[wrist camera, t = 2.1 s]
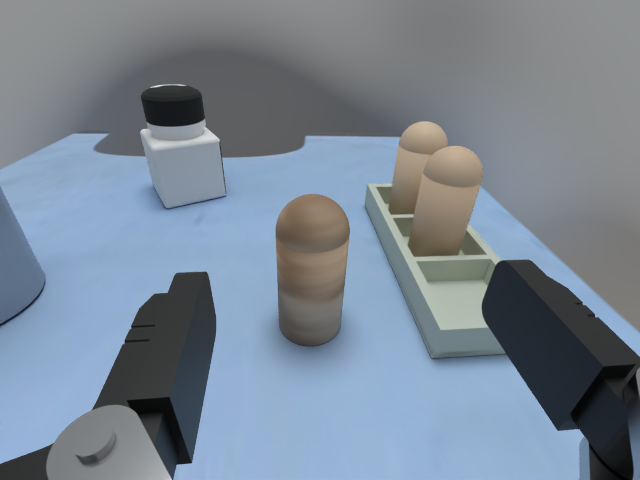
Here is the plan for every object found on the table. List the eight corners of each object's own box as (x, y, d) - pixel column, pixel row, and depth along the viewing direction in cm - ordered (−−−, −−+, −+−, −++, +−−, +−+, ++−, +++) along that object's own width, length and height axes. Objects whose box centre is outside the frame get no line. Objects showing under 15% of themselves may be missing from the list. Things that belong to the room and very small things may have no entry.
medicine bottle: (227, 196, 43) (214, 91, 36) (165, 210, 40) (139, 97, 33) (209, 175, 48) (194, 79, 41) (152, 186, 45) (127, 83, 38)
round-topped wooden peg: (267, 315, 27) (260, 192, 21) (316, 292, 29) (322, 176, 24) (301, 356, 24) (303, 226, 18) (353, 327, 26) (369, 204, 21)
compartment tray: (540, 351, 25) (618, 217, 19) (431, 358, 24) (476, 220, 18) (429, 204, 43) (450, 112, 37) (364, 205, 42) (376, 111, 36)
